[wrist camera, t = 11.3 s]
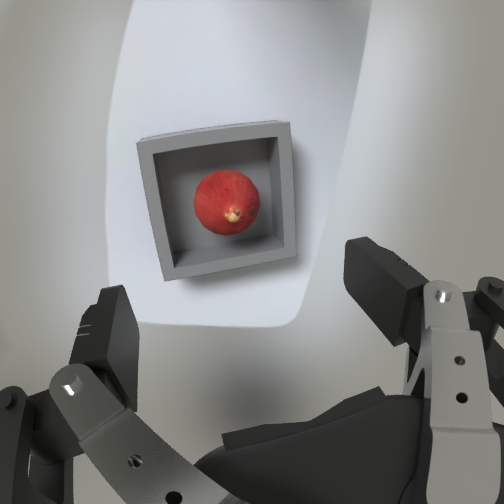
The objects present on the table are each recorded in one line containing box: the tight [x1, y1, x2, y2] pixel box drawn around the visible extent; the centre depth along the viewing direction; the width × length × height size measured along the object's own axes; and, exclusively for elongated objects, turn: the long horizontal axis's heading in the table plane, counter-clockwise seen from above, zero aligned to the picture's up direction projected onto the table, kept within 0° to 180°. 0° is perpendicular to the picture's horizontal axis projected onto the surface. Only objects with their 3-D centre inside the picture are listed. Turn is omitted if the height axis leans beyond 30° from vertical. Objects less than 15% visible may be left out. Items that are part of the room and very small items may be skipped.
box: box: [136, 120, 296, 281], centre depth 30 cm, size 13×13×4 cm
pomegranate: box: [193, 169, 260, 236], centre depth 28 cm, size 6×6×8 cm
